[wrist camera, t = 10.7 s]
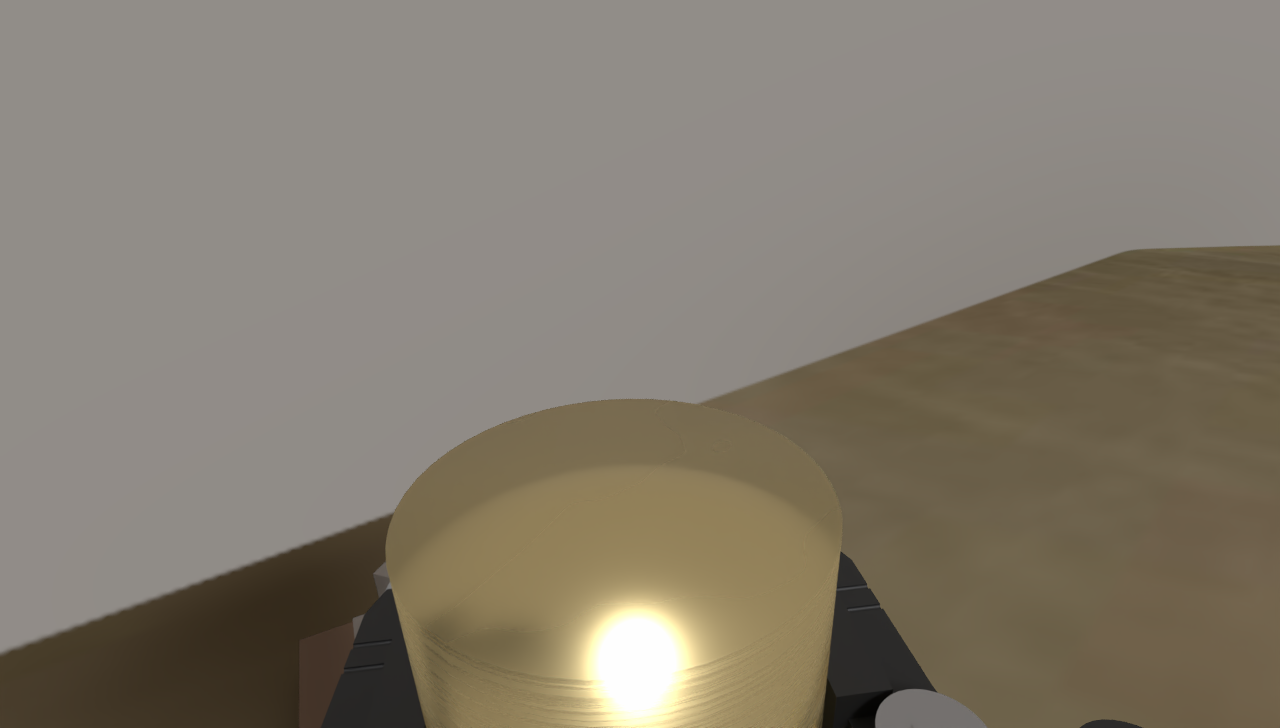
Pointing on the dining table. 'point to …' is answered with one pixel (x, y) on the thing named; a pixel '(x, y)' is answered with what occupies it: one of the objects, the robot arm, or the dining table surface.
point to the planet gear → (619, 573)
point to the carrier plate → (327, 662)
